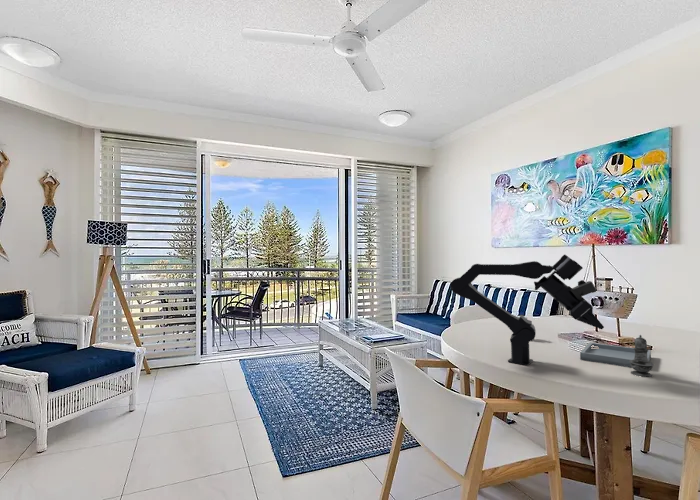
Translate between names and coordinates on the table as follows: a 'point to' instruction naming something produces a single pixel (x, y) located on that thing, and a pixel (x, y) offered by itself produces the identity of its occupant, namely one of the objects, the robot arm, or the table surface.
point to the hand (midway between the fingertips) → (600, 325)
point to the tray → (610, 354)
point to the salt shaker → (641, 359)
